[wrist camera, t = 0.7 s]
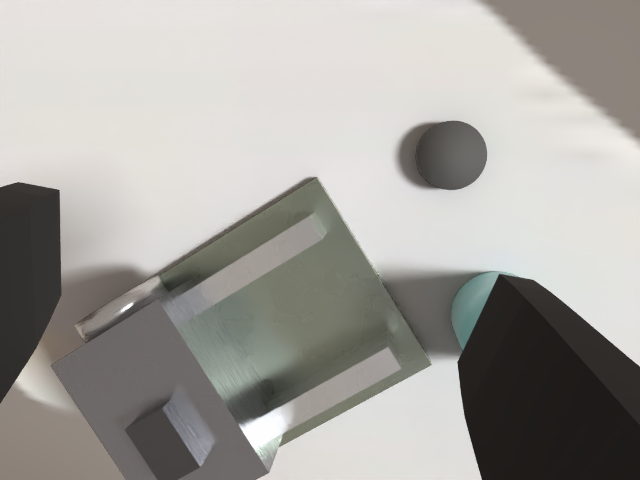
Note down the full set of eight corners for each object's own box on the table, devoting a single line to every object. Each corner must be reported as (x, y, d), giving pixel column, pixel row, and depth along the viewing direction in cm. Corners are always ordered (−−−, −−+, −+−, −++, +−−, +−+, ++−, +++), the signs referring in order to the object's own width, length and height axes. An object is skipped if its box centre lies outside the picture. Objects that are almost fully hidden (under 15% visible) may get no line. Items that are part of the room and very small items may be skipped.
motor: (430, 361, 29) (444, 418, 23) (193, 489, 31) (145, 573, 25) (317, 177, 28) (298, 181, 22) (84, 322, 31) (6, 365, 24)
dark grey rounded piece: (494, 167, 28) (499, 167, 26) (435, 200, 28) (438, 202, 27) (461, 109, 27) (465, 107, 26) (403, 144, 28) (404, 143, 27)
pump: (558, 330, 28) (612, 383, 21) (479, 372, 29) (507, 436, 22) (513, 255, 28) (554, 285, 21) (434, 299, 29) (449, 341, 22)
